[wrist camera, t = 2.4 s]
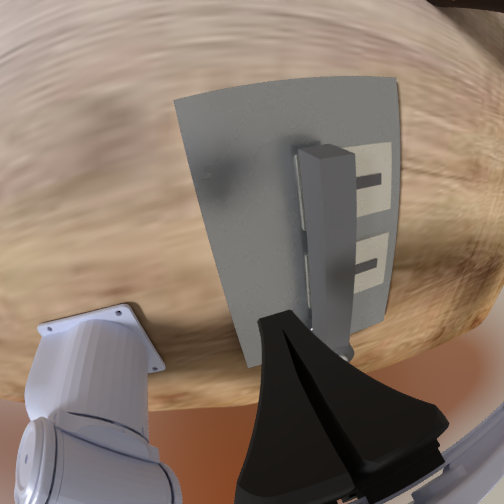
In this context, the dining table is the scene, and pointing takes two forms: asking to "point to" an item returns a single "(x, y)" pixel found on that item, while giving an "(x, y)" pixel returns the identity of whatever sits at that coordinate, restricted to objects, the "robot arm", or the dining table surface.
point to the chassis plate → (291, 190)
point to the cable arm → (331, 241)
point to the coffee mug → (472, 4)
